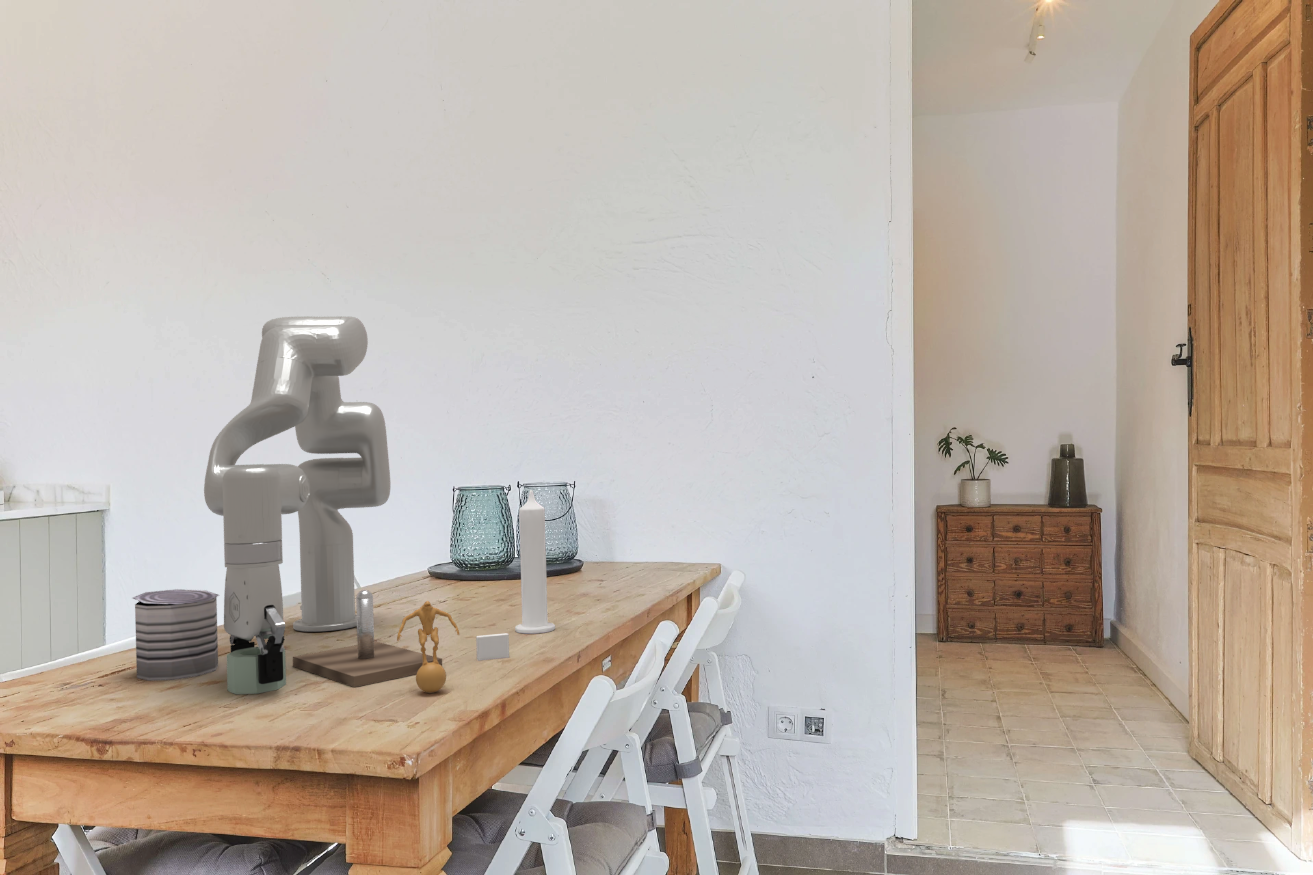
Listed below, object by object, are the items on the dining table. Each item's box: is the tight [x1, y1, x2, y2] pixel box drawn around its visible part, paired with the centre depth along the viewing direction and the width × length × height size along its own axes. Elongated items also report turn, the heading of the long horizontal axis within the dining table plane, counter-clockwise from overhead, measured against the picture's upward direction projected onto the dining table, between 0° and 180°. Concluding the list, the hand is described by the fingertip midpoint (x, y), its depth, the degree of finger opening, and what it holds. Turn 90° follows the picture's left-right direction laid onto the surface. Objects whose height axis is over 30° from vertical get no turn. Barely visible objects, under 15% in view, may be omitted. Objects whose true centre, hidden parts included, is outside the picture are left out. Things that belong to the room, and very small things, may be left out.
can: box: [132, 588, 220, 682], centre depth 145 cm, size 11×11×12 cm
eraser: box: [475, 632, 510, 662], centre depth 148 cm, size 1×5×4 cm, turn 109°
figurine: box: [396, 600, 460, 694], centre depth 129 cm, size 8×6×12 cm
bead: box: [226, 646, 287, 695], centre depth 133 cm, size 7×7×5 cm
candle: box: [514, 489, 556, 635], centre depth 170 cm, size 7×7×25 cm
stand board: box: [292, 641, 443, 688], centre depth 144 cm, size 20×14×2 cm
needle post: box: [355, 589, 375, 659], centre depth 144 cm, size 2×2×10 cm
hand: (256, 676), depth 133 cm, fingers open, 9 cm apart
